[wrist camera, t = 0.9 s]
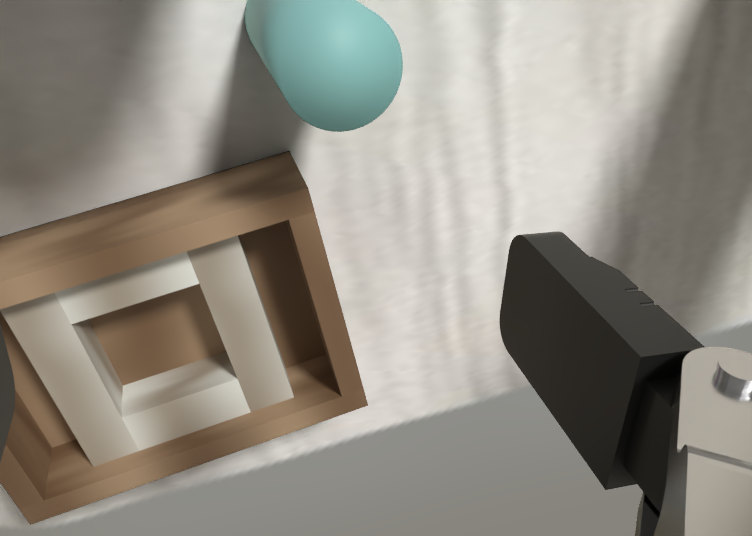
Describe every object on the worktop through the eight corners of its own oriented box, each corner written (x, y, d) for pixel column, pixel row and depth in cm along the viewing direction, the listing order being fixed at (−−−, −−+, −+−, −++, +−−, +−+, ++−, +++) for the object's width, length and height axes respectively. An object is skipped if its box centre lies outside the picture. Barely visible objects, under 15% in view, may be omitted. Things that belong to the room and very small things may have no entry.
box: (289, 150, 29) (307, 187, 26) (346, 353, 35) (367, 405, 32) (-86, 262, 27) (-117, 318, 24) (41, 458, 33) (30, 524, 30)
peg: (327, -44, 26) (390, -12, 20) (348, 53, 28) (412, 112, 21) (232, -19, 26) (263, 23, 19) (260, 77, 28) (297, 146, 21)
